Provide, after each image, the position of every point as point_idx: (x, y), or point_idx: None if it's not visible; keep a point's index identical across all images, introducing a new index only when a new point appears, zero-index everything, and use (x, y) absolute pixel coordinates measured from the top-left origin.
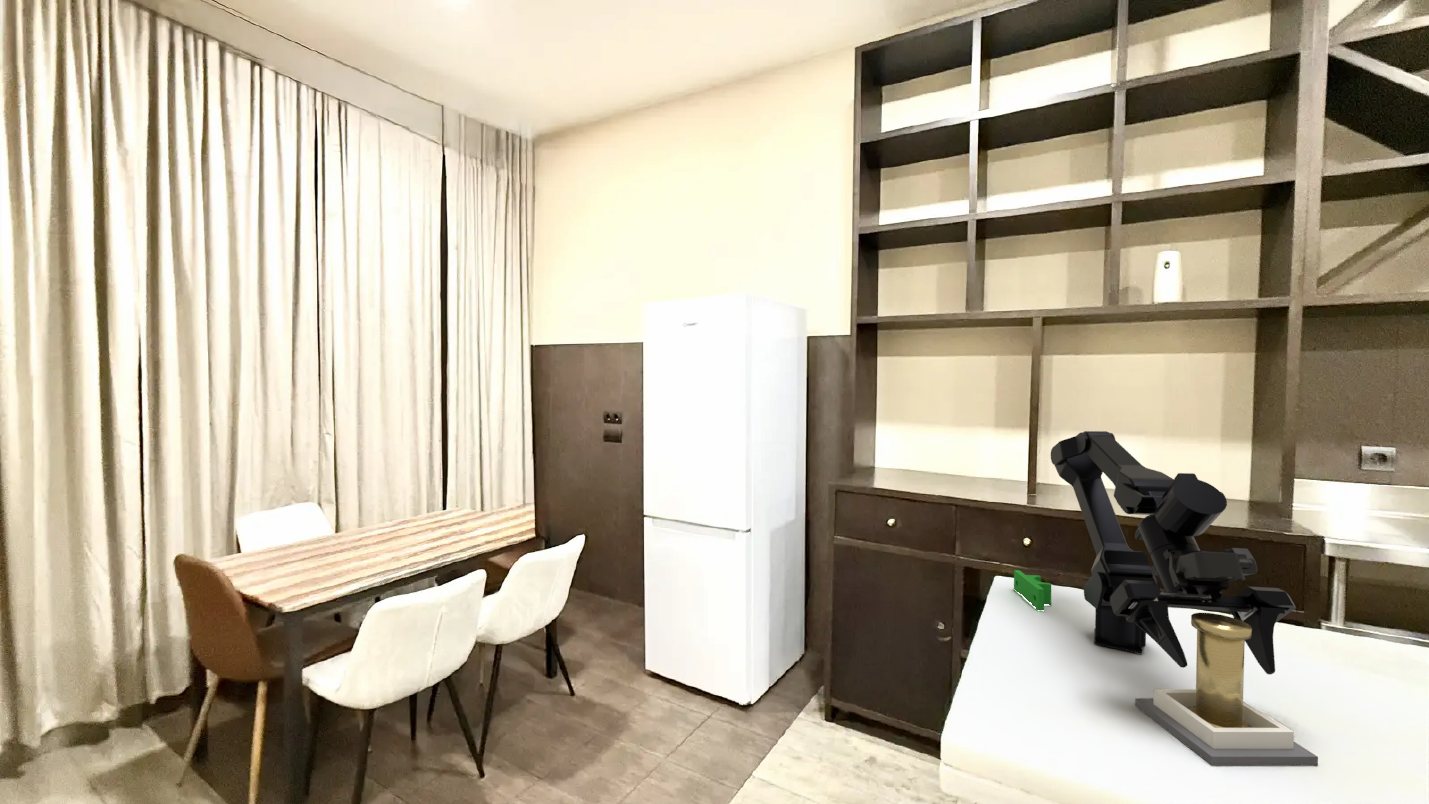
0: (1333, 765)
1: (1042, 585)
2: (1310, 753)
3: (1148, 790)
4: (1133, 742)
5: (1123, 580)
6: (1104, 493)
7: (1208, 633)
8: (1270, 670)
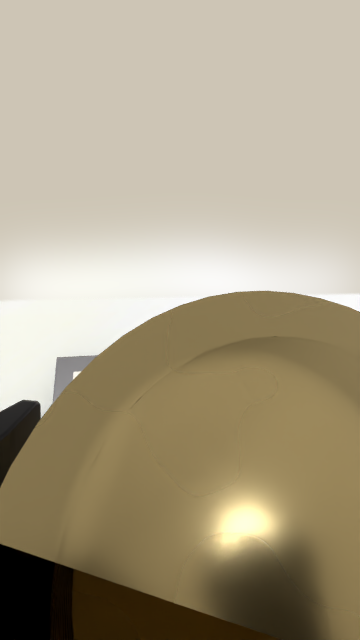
0: (29, 365)
1: None
2: (61, 366)
3: (356, 298)
4: None
5: None
6: None
7: None
8: (37, 407)
